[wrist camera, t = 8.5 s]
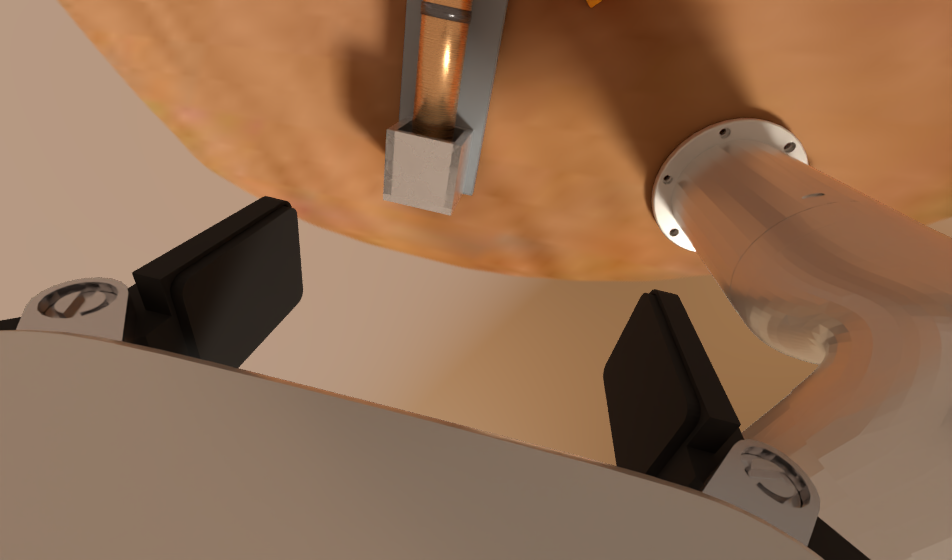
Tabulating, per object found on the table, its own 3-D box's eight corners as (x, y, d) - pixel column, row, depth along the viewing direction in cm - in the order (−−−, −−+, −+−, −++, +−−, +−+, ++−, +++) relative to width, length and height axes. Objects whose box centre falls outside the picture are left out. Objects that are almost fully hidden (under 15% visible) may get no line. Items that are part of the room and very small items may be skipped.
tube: (493, -102, 27) (485, -120, 24) (457, 135, 36) (449, 145, 33) (439, -114, 27) (424, -132, 24) (417, 126, 36) (404, 135, 33)
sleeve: (473, 130, 36) (461, 146, 31) (463, 192, 40) (450, 215, 35) (408, 115, 37) (386, 129, 32) (403, 178, 40) (383, 199, 35)
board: (530, -121, 28) (529, -126, 27) (473, 191, 41) (471, 195, 40) (421, -143, 28) (416, -149, 27) (398, 174, 41) (395, 177, 40)
